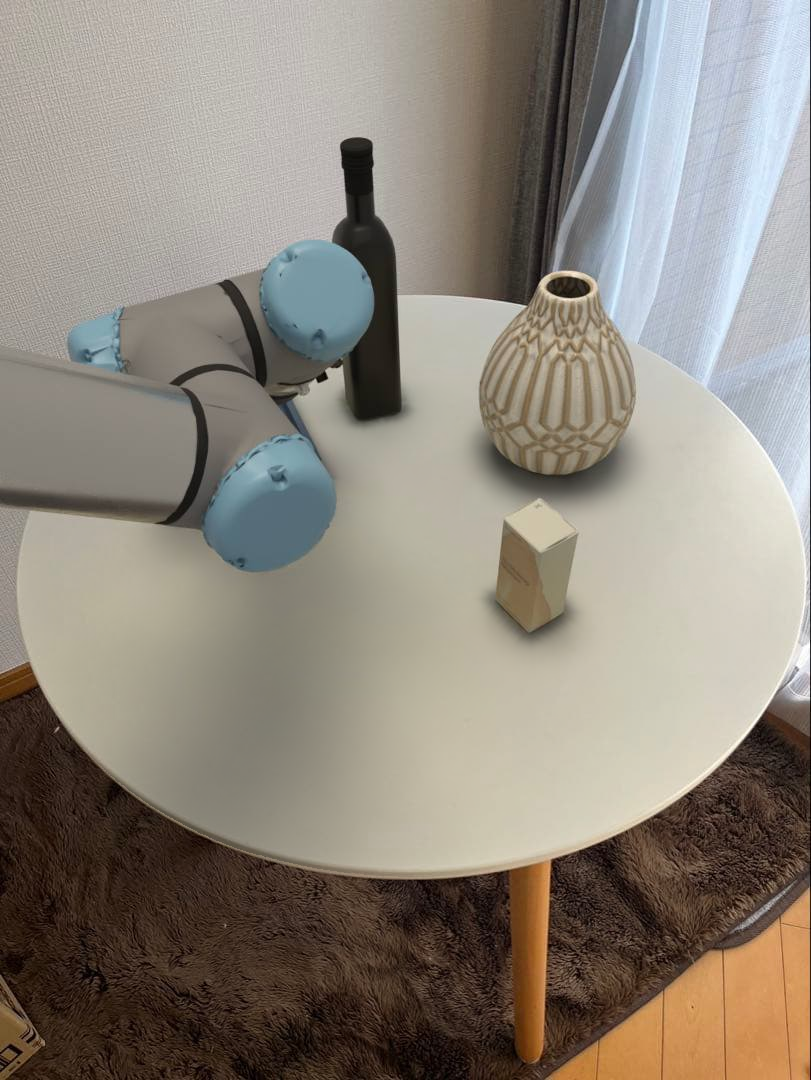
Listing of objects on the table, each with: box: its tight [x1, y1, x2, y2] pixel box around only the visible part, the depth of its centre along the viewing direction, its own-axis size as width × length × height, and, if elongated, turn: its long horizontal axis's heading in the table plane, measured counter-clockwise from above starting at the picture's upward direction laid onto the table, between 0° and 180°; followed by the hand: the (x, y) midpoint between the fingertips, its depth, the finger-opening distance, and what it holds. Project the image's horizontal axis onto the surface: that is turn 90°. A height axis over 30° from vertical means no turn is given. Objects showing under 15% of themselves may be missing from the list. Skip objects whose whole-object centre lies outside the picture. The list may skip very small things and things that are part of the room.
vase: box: [478, 270, 637, 476], centre depth 90 cm, size 16×16×20 cm
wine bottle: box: [331, 136, 403, 421], centre depth 93 cm, size 6×6×30 cm
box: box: [494, 497, 579, 633], centre depth 79 cm, size 5×4×11 cm
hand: (229, 404), depth 91 cm, fingers open, 13 cm apart
